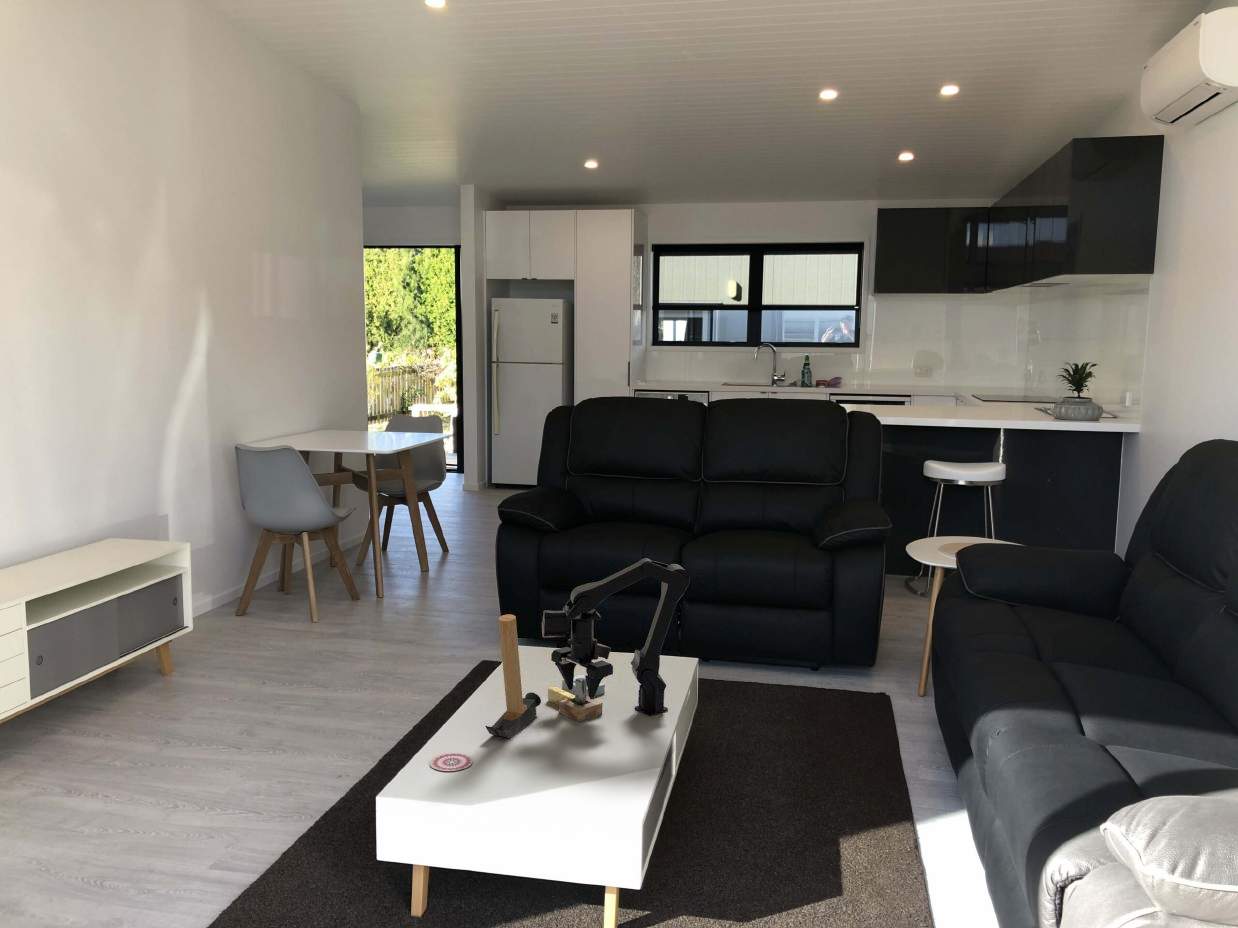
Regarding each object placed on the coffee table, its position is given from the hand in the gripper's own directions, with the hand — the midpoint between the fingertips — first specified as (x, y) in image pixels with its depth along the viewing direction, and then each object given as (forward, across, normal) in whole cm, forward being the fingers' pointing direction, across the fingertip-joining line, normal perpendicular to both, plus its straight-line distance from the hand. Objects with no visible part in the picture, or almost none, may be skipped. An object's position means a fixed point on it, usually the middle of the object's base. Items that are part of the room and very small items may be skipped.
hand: (581, 694), depth 239 cm
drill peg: (+5, 0, 0) cm, 5 cm away
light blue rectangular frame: (+5, +12, -11) cm, 17 cm away
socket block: (+5, 0, 0) cm, 5 cm away
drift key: (+5, +7, 0) cm, 9 cm away
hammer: (+5, +4, +18) cm, 20 cm away
